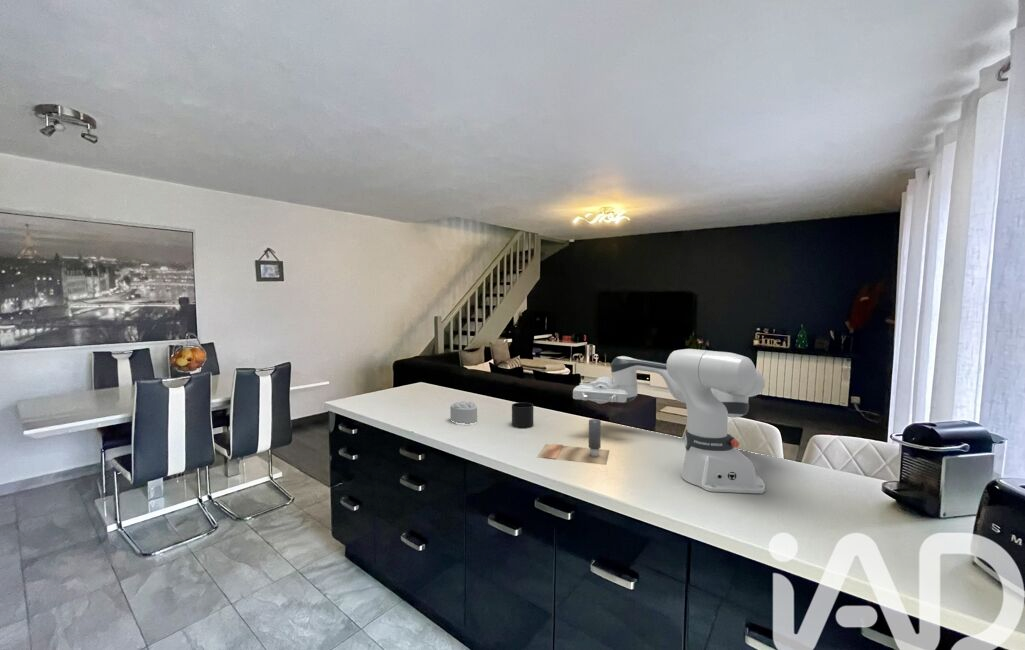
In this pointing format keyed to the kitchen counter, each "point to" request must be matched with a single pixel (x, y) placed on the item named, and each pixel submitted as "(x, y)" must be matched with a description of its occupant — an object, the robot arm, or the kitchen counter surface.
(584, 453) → the board
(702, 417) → the robot arm
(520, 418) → the mug
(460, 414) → the lumpy-topped squat cylinder
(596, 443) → the round-topped grey cylinder
